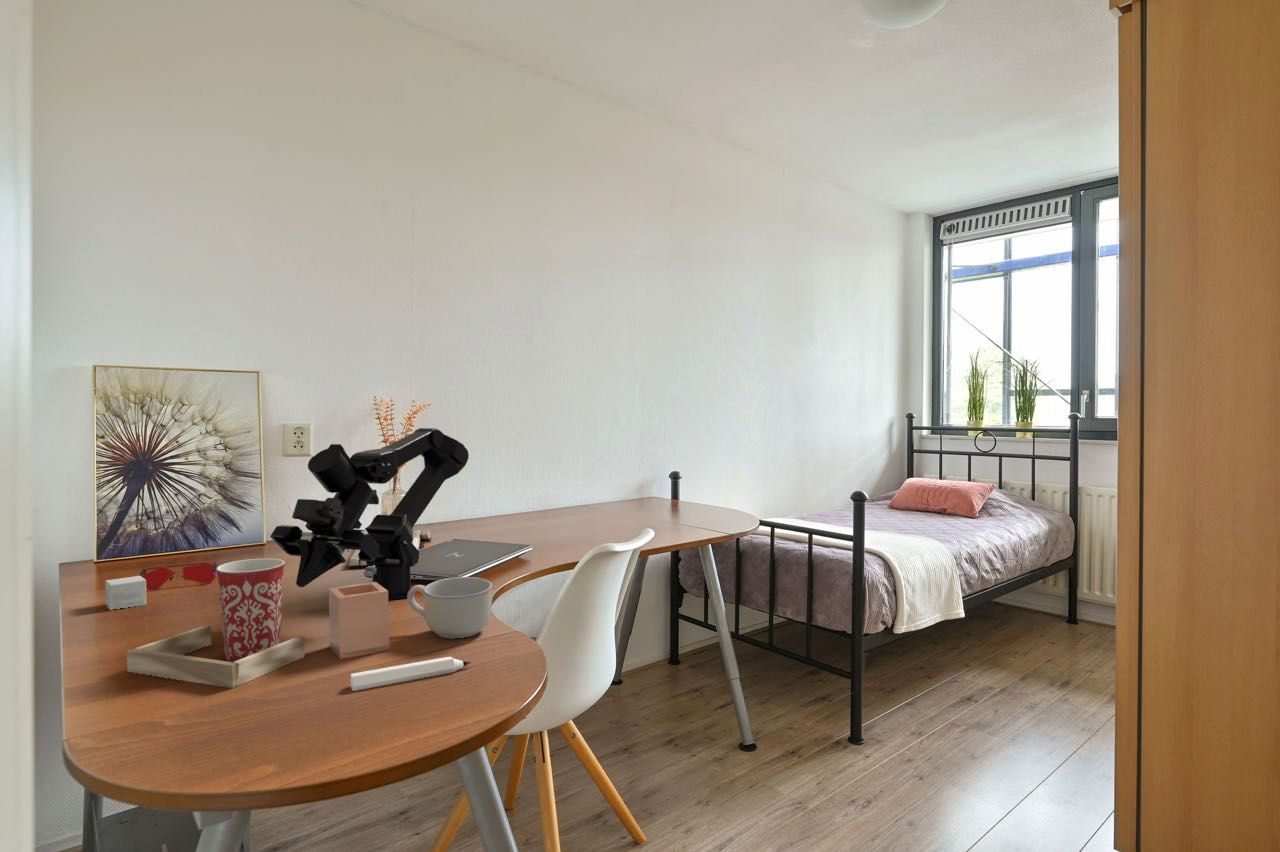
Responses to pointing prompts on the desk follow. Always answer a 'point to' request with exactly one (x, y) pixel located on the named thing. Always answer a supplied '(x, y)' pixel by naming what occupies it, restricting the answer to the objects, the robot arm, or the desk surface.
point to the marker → (405, 672)
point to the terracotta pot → (358, 619)
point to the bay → (208, 660)
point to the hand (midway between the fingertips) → (299, 585)
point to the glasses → (192, 573)
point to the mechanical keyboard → (418, 542)
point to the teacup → (454, 605)
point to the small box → (125, 592)
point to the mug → (250, 605)
